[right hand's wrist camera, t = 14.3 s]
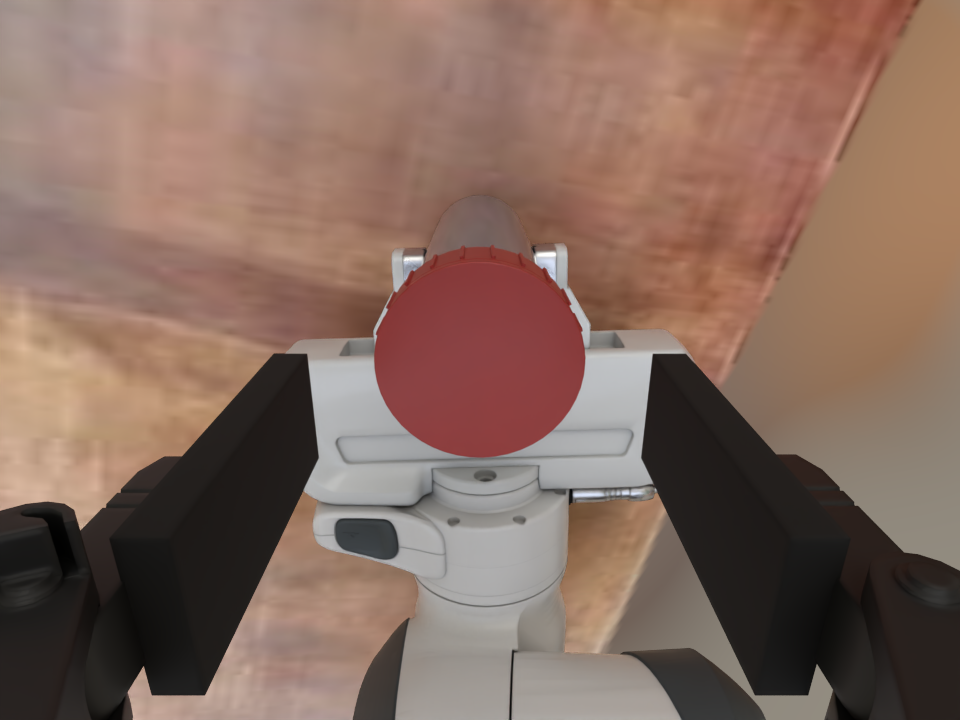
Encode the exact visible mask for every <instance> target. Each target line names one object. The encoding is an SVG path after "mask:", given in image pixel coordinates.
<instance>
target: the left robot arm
mask: <svg viewBox="0 0 960 720" xmlns="http://www.w3.org/2000/svg"><path fill="white" fill-rule="evenodd" d="M532 249H533V252H534V254H535V257H536V259H537V261H538V264H539V266H540V267H541V268H542V269H543V268H544V267H545V268H546V269H547V271H548V273H549V275H550V277H551V278H552V279H553V280H554V281H555V282H556V283H557V285H558V286H559V288H560V289H562V288H564V290H565V292H566V294H567V296H568V298H569V300H570V302H571V304H572V305H570V308H571V310H572V312H573V313H575V315H576V317H577V319H578V321H579V323H580V325H581V327H582V329H583V331H582V332H581V333H582V336H583V342H584V347H585V356H586V359H585V371H584V377H583V381H582V385H581V389H580V391H579V394H578V396H577V399H576V401H575V402H574V404H573V406H572V408H571V410H570V411H569V412H568V414H567V415H566V416H565V418H564V419H563V420H562V422H561V423H560V424H559V425H558V426H557V427H556V428H555V429H554V430H553V431H551V432H550V433H549V434H548V435H546V436H545V437H544V438H542V439H541V440H539V441H537V442H536V443H534V444H533V445H530V446H528V447H526V448H524V449H522V450H519V451H516V452H513V453H510V454H506V455H501V456H496V457H485V458H478V457H465V456H458V455H454V454H450V453H446V452H443V451H441V450H438V449H435V448H433V447H431V446H429V445H427V444H425V443H424V442H422V441H420V440H419V439H417V438H416V437H415V436H413V435H412V434H410V433H409V432H408V431H407V430H406V429H405V428H404V427H403V426H402V425H401V424H400V423H399V422H398V421H397V420H396V418H395V417H394V416H393V415H392V413H391V412H390V410H389V409H388V407H387V406H386V404H385V402H384V400H383V397H382V395H381V393H380V390H379V387H378V384H377V380H376V375H375V369H374V352H375V343H376V339H377V335H376V331H377V329H378V327H379V325H380V323H381V321H382V319H383V317H384V316H385V315H386V312H387V310H388V309H387V308H386V306H387V304H388V302H389V300H390V298H391V296H392V294H393V293H394V291H395V292H397V291H398V290H399V288H400V287H401V285H402V284H403V283H404V282H405V280H406V279H407V277H408V275H409V273H410V271H411V270H413V271H415V270H416V269H418V268H419V267H420V266H421V264H422V261H423V259H424V256H425V254H426V252H427V250H426V248H395V249H394V251H393V252H392V275H393V287H394V290H393V292H392V294H391V296H390V298H389V300H388V302H387V304H386V306H385V308H384V310H383V312H382V314H381V316H380V318H379V320H378V322H377V324H376V326H375V328H374V330H373V332H374V337H367V338H334V339H304V340H299V341H297V342H296V343H294V344H293V345H292V347H291V348H290V349H289V350H288V351H287V352H286V353H285V354H307V355H308V364H309V373H310V382H311V391H312V400H313V409H314V418H315V427H316V436H317V445H318V453H319V459H318V461H317V463H316V465H315V467H314V469H313V471H312V474H311V476H310V478H309V480H308V482H307V484H306V486H305V488H304V491H305V492H306V493H307V494H308V495H309V496H311V497H312V498H314V499H316V500H318V502H317V505H316V509H315V514H314V518H313V533H314V537H315V539H316V541H317V543H318V544H319V545H320V546H322V547H324V548H326V549H329V550H332V551H336V552H340V553H344V554H349V555H353V556H357V557H362V558H366V559H369V560H373V561H377V562H380V563H384V564H387V565H391V566H394V567H397V568H400V569H403V570H405V571H408V572H410V573H413V575H414V577H415V580H416V583H417V585H418V593H419V595H418V598H417V602H416V608H415V617H414V618H412V619H410V618H407V619H406V620H405V621H404V622H403V623H402V624H401V625H400V626H399V627H398V628H397V629H396V630H395V631H394V633H393V634H392V635H391V636H390V638H389V639H388V640H387V642H386V643H385V644H384V646H383V647H382V648H381V650H380V651H379V652H378V654H377V655H376V656H375V658H374V659H373V661H372V663H371V665H370V667H369V668H368V671H367V673H366V675H365V677H364V680H363V682H362V685H361V688H360V691H359V695H358V698H357V703H356V707H355V712H354V716H353V720H766V719H765V717H764V714H763V712H762V711H761V709H760V707H759V706H758V705H757V704H756V703H755V702H754V701H753V699H752V698H751V697H750V696H749V695H748V694H747V693H746V692H745V691H744V690H743V689H742V688H741V687H740V686H739V685H738V684H737V683H736V682H735V681H733V680H732V679H731V678H730V677H729V676H728V675H727V674H725V673H724V672H723V671H722V670H721V669H719V668H718V667H717V666H716V665H715V664H713V663H712V662H711V661H709V660H708V659H707V658H705V657H704V656H702V655H701V654H700V653H698V652H697V651H696V650H694V649H691V648H684V649H666V650H648V651H630V652H623V653H621V654H593V653H565V652H564V648H565V632H566V609H565V603H564V599H563V595H562V593H561V590H560V583H561V581H562V579H563V576H564V573H565V570H566V566H567V557H568V528H569V505H570V504H571V503H592V502H604V501H611V500H628V501H645V500H650V499H653V497H654V493H658V492H657V490H656V488H655V486H654V485H653V482H652V480H651V478H650V476H649V474H648V471H647V469H646V467H645V465H644V463H643V461H642V459H641V453H642V445H643V436H644V427H645V418H646V409H647V400H648V391H649V382H650V373H651V364H652V355H653V354H687V355H688V356H689V358H690V359H691V360H692V361H693V362H694V359H693V358H692V356H691V354H690V353H689V352H688V351H687V349H686V348H685V347H684V345H683V344H682V343H681V342H680V341H679V340H677V339H676V338H675V337H674V336H673V335H672V334H671V333H670V332H668V331H667V330H664V329H639V330H604V331H590V322H589V321H588V319H587V317H586V315H585V313H584V311H583V310H582V308H581V306H580V304H579V303H578V301H577V299H576V297H575V296H574V294H573V292H572V290H571V289H570V287H569V285H568V283H567V274H568V253H567V247H566V246H565V244H564V243H549V244H533V246H532ZM694 363H695V362H694Z"/></svg>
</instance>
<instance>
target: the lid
mask: <svg viewBox="0 0 960 720" xmlns="http://www.w3.org/2000/svg"><path fill="white" fill-rule="evenodd" d="M570 305H572V304H571V302H570V300H569V298H568V296H567V294H566V292H565V290H564V288H562V289H560V288H559V286H558V285H557V283H556V282H555V281H554V280H553V279H552V278H551V277H550V275H549V273H548V271H547V269H546V268H545V267H544V268H543V269H542V268H541V267H539V266H538V265H537V264H535V263H533V262H532V261H530V260H529V259H527V258H525V257H524V256H523V254H522V253H520V252H519V254H516V253H513V252H510V251H507V250H503V249H498V248H495V246H494V245H491V247H468V248H465V245H464V246H461V249H457V250H452V251H449V252H446V253H444V254H441V255H438V256H437V254H435V255H433V258H432V259H431V260H429V261H427V262H426V263H424V264H423V265H422V266H420V267H419V268H418V269H416V270H415V271H413V270H411V271H410V273H409V275H408V277H407V279H406V280H405V282H404V283H403V284H402V285H401V287H400V288H399V290H398V291H397V292H395V291H394V293H393V294H392V296H391V298H390V300H389V302H388V304H387V306H386V308H387V309H388V310H387V312H386V315H385V316H384V317H383V319H382V321H381V323H380V325H379V327H378V329H377V331H376V335H377V339H376V343H375V352H374V369H375V375H376V380H377V384H378V387H379V390H380V393H381V395H382V397H383V400H384V402H385V404H386V406H387V407H388V409H389V410H390V412H391V413H392V415H393V416H394V417H395V418H396V420H397V421H398V422H399V423H400V424H401V425H402V426H403V427H404V428H405V429H406V430H407V431H408V432H409V433H410V434H412V435H413V436H415V437H416V438H417V439H419V440H420V441H422V442H424V443H425V444H427V445H429V446H431V447H433V448H435V449H438V450H441V451H443V452H446V453H450V454H454V455H458V456H465V457H478V458H485V457H496V456H501V455H506V454H510V453H513V452H516V451H519V450H522V449H524V448H526V447H528V446H530V445H533V444H534V443H536V442H537V441H539V440H541V439H542V438H544V437H545V436H546V435H548V434H549V433H550V432H551V431H553V430H554V429H555V428H556V427H557V426H558V425H559V424H560V423H561V422H562V420H563V419H564V418H565V416H566V415H567V414H568V412H569V411H570V410H571V408H572V406H573V404H574V402H575V401H576V399H577V396H578V394H579V391H580V389H581V385H582V381H583V377H584V371H585V359H586V356H585V347H584V342H583V336H582V333H581V332H582V331H583V329H582V327H581V325H580V323H579V321H578V319H577V317H576V315H575V313H573V312H572V310H571V308H570Z"/></svg>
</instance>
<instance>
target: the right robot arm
mask: <svg viewBox="0 0 960 720" xmlns="http://www.w3.org/2000/svg"><path fill="white" fill-rule="evenodd" d="M318 459H319V453H318V445H317V436H316V427H315V418H314V409H313V400H312V391H311V382H310V373H309V364H308V355H307V354H273V355H272V356H271V358H270V359H269V360H268V361H267V362H266V363H265V364H264V365H263V366H262V368H261V369H260V370H259V371H258V372H257V373H256V374H255V375H254V377H253V378H252V379H251V380H250V381H249V382H248V383H247V384H246V386H245V387H244V388H243V389H242V390H241V391H240V392H239V393H238V394H237V396H236V397H235V398H234V399H233V400H232V401H231V402H230V403H229V405H228V406H227V407H226V408H225V409H224V410H223V411H222V412H221V414H220V415H219V416H218V417H217V418H216V419H215V420H214V421H213V422H212V424H211V425H210V426H209V427H208V428H207V429H206V430H205V431H204V433H203V434H202V435H201V436H200V437H199V438H198V439H197V440H196V442H195V443H194V444H193V445H192V446H191V447H190V448H189V449H188V450H187V452H186V453H185V454H184V455H183V456H182V457H163V458H161V459H159V460H158V461H156V462H154V463H152V464H151V465H149V466H147V467H146V468H144V469H142V470H140V471H139V472H137V474H136V475H135V476H134V477H133V478H132V479H131V480H130V481H129V482H128V483H127V484H126V485H125V486H124V487H123V488H122V489H121V493H117V494H116V495H115V496H114V497H113V498H112V499H111V500H110V501H109V502H108V503H107V504H106V508H102V509H101V510H100V511H99V512H98V513H97V514H96V515H95V516H94V517H93V518H92V519H91V520H90V521H89V523H88V524H87V525H86V526H85V527H84V528H83V529H82V530H81V531H80V529H79V525H78V522H77V518H76V515H75V512H74V510H73V509H72V508H70V507H69V506H67V505H65V504H62V503H54V502H40V503H31V504H24V505H20V506H17V507H13V508H9V509H6V510H2V511H0V720H132V719H133V714H132V708H131V703H130V699H129V696H128V690H129V689H130V687H131V685H132V684H133V682H134V681H135V679H136V677H137V676H138V674H139V673H140V671H141V669H142V668H143V666H144V668H145V672H146V675H147V679H148V683H149V686H150V690H151V694H152V695H205V694H206V692H207V690H208V688H209V686H210V684H211V682H212V680H213V678H214V675H215V673H216V671H217V669H218V667H219V665H220V663H221V661H222V659H223V657H224V655H225V653H226V650H227V648H228V646H229V644H230V642H231V640H232V638H233V636H234V634H235V632H236V630H237V628H238V625H239V623H240V621H241V619H242V617H243V615H244V613H245V611H246V609H247V607H248V605H249V603H250V601H251V598H252V596H253V594H254V592H255V590H256V588H257V586H258V584H259V582H260V580H261V578H262V576H263V573H264V571H265V569H266V567H267V565H268V563H269V561H270V559H271V557H272V555H273V553H274V551H275V548H276V546H277V544H278V542H279V540H280V538H281V536H282V534H283V532H284V530H285V528H286V526H287V524H288V521H289V519H290V517H291V515H292V513H293V511H294V509H295V507H296V505H297V503H298V501H299V499H300V496H301V494H302V492H303V490H304V488H305V486H306V484H307V482H308V480H309V478H310V476H311V474H312V471H313V469H314V467H315V465H316V463H317V461H318ZM641 459H642V461H643V463H644V465H645V467H646V469H647V471H648V474H649V476H650V478H651V480H652V482H653V484H654V486H655V488H656V490H657V492H658V494H659V496H660V499H661V501H662V503H663V505H664V507H665V509H666V511H667V513H668V515H669V517H670V519H671V521H672V523H673V526H674V528H675V530H676V532H677V534H678V536H679V538H680V540H681V542H682V544H683V546H684V548H685V551H686V552H687V555H688V557H689V559H690V561H691V563H692V565H693V567H694V569H695V571H696V573H697V575H698V578H699V580H700V582H701V584H702V586H703V588H704V590H705V592H706V594H707V596H708V598H709V600H710V602H711V605H712V607H713V609H714V611H715V613H716V615H717V617H718V619H719V621H720V623H721V625H722V628H723V630H724V632H725V634H726V636H727V638H728V640H729V642H730V644H731V646H732V648H733V650H734V653H735V655H736V657H737V659H738V661H739V663H740V665H741V667H742V669H743V671H744V673H745V675H746V677H747V680H748V682H749V684H750V686H751V688H752V690H753V692H754V694H755V695H808V694H809V690H810V686H811V683H812V679H813V675H814V672H815V668H816V664H818V666H819V668H820V669H821V671H822V673H823V674H824V676H825V677H826V679H827V680H828V682H829V684H830V685H831V687H832V689H833V693H832V696H831V699H830V703H829V706H828V710H827V713H826V716H825V720H960V571H959V570H957V569H955V568H953V567H951V566H949V565H947V564H945V563H943V562H941V561H938V560H934V559H931V558H928V557H925V556H922V555H918V554H911V553H904V552H903V551H902V550H901V549H900V548H899V547H898V546H897V545H896V544H895V543H894V542H893V541H892V540H891V539H890V538H889V537H888V536H887V535H886V534H885V533H884V532H883V531H882V530H881V529H880V528H879V527H878V526H877V525H876V524H875V523H874V522H873V521H872V520H871V519H870V518H869V517H868V516H867V515H866V514H865V513H864V512H863V510H861V508H860V507H859V506H855V505H854V501H853V500H852V499H851V498H850V497H849V496H848V495H847V494H846V493H845V492H844V491H840V488H839V486H838V485H837V484H836V483H835V482H834V481H833V480H832V479H831V478H830V477H829V476H828V475H827V474H826V473H825V472H824V471H823V470H822V469H820V468H818V467H817V466H815V465H813V464H812V463H810V462H808V461H806V460H805V459H803V458H801V457H799V456H798V455H776V454H775V453H774V452H773V451H772V449H771V448H770V447H769V446H768V445H767V444H766V443H765V442H764V440H763V439H762V438H761V437H760V436H759V435H758V434H757V433H756V431H755V430H754V429H753V428H752V427H751V426H750V425H749V424H748V423H747V421H746V420H745V419H744V418H743V417H742V416H741V415H740V414H739V412H738V411H737V410H736V409H735V408H734V407H733V406H732V405H731V403H730V402H729V401H728V400H727V399H726V398H725V397H724V396H723V394H722V393H721V392H720V391H719V390H718V389H717V388H716V387H715V386H714V384H713V383H712V382H711V381H710V380H709V379H708V378H707V377H706V375H705V374H704V373H703V372H702V371H701V370H700V369H699V368H698V366H697V365H696V364H695V363H694V362H693V361H692V360H691V359H690V358H689V356H688V355H687V354H653V355H652V364H651V373H650V382H649V391H648V400H647V409H646V418H645V427H644V436H643V445H642V453H641Z"/></svg>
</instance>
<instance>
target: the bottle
mask: <svg viewBox="0 0 960 720" xmlns="http://www.w3.org/2000/svg"><path fill="white" fill-rule="evenodd" d="M464 245H465V248H468V247H491V245H494V246H495V248H498V249H503V250H507V251H510V252H513V253H516V254H519V252H520V253H522V254H523V256H524V257H525V258H527V259H529V260H530V261H532V262H533V263H535V264H537V265H538V266H539V264H538V261H537V259H536V257H535V254H534V252H533V249H532V247H531V244H530V242H529V240H528V237H527V235H526V232H525V230H524V228H523V225H522V223H521V221H520V219H519V217H518V215H517V214H516V212H515V211H514V210H513V209H512V208H511V207H510V206H509V205H507V204H506V203H505V202H503V201H501V200H499V199H497V198H494V197H491V196H486V195H474V196H469V197H466V198H463V199H461V200H459V201H457V202H455V203H454V204H453V205H451V206H450V207H449V208H448V209H447V210H446V211H445V213H444V214H443V215H442V217H441V219H440V220H439V223H438V225H437V228H436V230H435V232H434V235H433V237H432V240H431V242H430V244H429V247H428V249H427V252H426V254H425V256H424V259H423V261H422V264H421V266H422V265H423V264H424V263H426V262H427V261H429V260H431V259H432V258H433V255H435V254H437V256H438V255H441V254H444V253H446V252H449V251H452V250H457V249H461V246H464ZM539 267H540V266H539Z"/></svg>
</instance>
